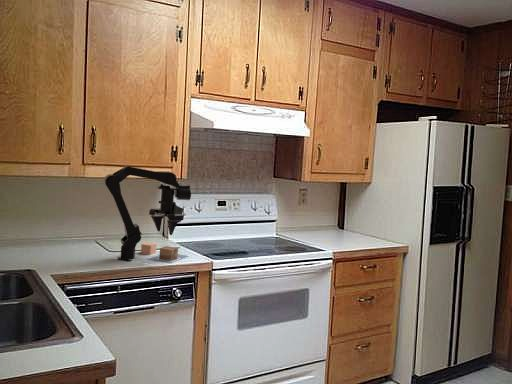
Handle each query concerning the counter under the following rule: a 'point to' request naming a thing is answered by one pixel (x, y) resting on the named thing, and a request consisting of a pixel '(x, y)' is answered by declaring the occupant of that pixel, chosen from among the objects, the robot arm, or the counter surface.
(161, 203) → the robot arm
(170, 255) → the walnut block
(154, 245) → the terracotta cube
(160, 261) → the board
